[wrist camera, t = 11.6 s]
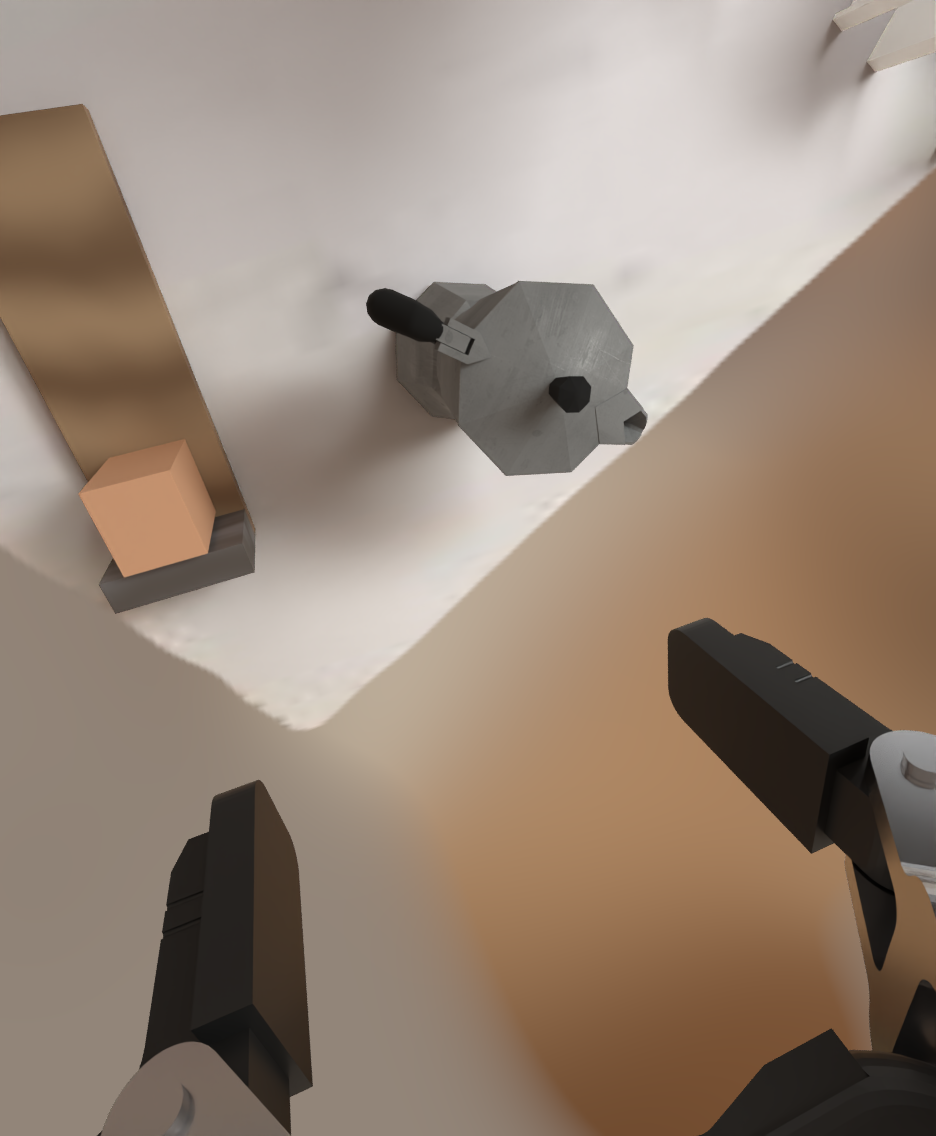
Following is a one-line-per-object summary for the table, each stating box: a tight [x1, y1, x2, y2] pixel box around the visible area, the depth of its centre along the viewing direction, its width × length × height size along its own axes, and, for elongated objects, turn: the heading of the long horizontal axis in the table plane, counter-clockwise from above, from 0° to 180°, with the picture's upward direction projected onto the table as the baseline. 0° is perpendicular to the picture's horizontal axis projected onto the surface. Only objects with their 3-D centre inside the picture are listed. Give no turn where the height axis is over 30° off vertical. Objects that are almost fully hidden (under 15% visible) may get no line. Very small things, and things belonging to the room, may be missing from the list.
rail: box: [0, 104, 255, 614], centre depth 32 cm, size 24×8×7 cm, turn 11°
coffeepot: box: [366, 281, 648, 476], centre depth 32 cm, size 15×9×18 cm, turn 65°
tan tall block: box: [79, 439, 216, 577], centre depth 34 cm, size 5×4×7 cm
